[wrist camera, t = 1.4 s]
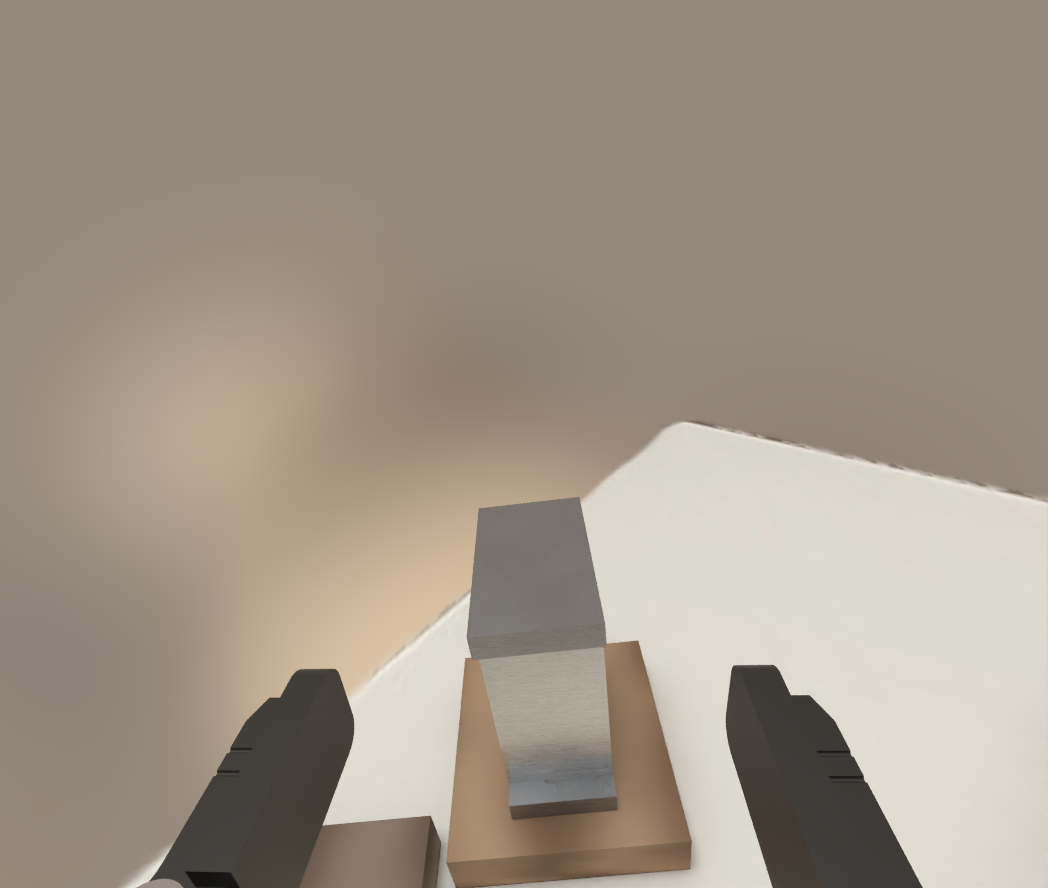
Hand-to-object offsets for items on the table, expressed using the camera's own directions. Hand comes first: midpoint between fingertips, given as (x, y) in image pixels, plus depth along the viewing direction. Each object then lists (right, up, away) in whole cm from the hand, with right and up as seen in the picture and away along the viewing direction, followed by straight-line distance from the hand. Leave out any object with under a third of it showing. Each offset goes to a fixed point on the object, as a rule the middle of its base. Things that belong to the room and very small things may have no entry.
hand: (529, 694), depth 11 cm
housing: (+2, -11, +17) cm, 20 cm away
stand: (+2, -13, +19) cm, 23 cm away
